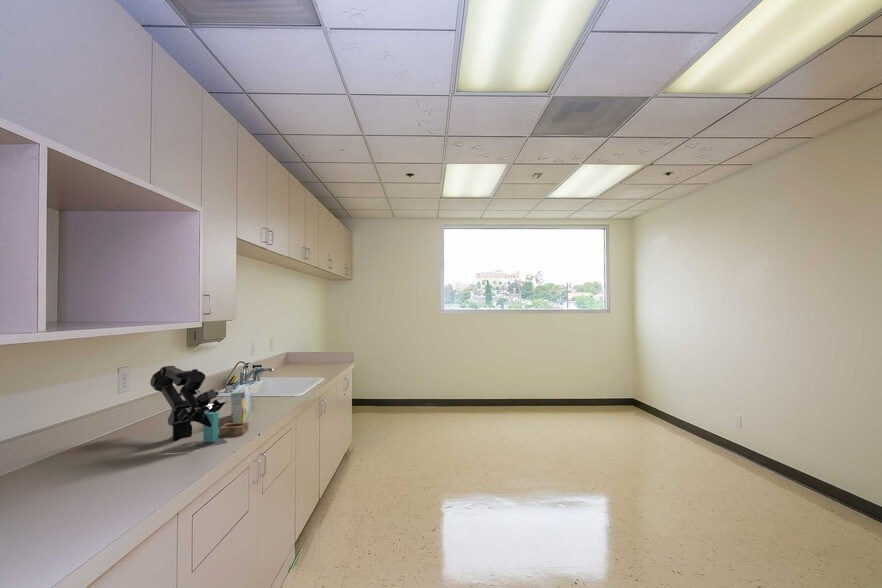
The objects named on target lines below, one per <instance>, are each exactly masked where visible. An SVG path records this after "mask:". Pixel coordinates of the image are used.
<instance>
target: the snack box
mask: <svg viewBox="0 0 882 588" xmlns="http://www.w3.org/2000/svg"><path fill="white" fill-rule="evenodd" d="M230 403H231V404H230V406H231V409H230V411H231V412H230V413H231V414H230V415H231V416H230V419H231V422H230V423H242V422H245V421H244V420H246V419H247V418H246V417H248V416H249V415H250V413H251V412H252V411H251V384H249V383H248V384H247V383H246V384H240V385H238V386H237V387H236V388H235V389H234V390H233V391H232V392H231V393H230Z"/></svg>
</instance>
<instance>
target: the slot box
mask: <svg viewBox="0 0 882 588" xmlns="http://www.w3.org/2000/svg"><path fill="white" fill-rule="evenodd" d="M249 423H250V422H249V421H243V422H241V423H231V422H228V423H227V422H226V423H224V424H223V425H221V426H220V427H218V437H235V436H243V435H245V434H246V433H247V432H248V431H249Z"/></svg>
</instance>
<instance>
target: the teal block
mask: <svg viewBox="0 0 882 588" xmlns="http://www.w3.org/2000/svg"><path fill="white" fill-rule="evenodd" d="M205 415H206V417H207V418H208V420H209V421H210V423H211V427H208V426H205V425H203V440H202V441H210V442H214V441H216V440H218V437H219V412H217V411H216V412H207V413H206V412H205Z"/></svg>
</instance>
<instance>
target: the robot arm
mask: <svg viewBox="0 0 882 588" xmlns="http://www.w3.org/2000/svg"><path fill="white" fill-rule="evenodd" d="M205 379H206V374H205V373H204V372H202V371H199V369H197V368H195V369H192V370H183V369H180V368H178V367H176V366H174V365H167V366H163V367H162V366H161V367H160V370H157V372H155V373H154V374H152V376H151V378H150V382H149V383H150V384H149V385H150V386H151V387H152V389H153V390H155V391H157V392H160V393H162V396H164V399H165V400H166V401H167V403H168V404H169V406H170V408H171V412H170V414H169V416H168V419H167V425H168V426H171V429H172V430H171V431H172V432H171V439H172V441H173V442H174V441H179V440H181V439H187V438H192V435H193V425H192V422H193V423H194V422H196V423H199V424H201V425H203V426H204V425H205V426H208V427H211V423H210V421H209V420H208V418H207V417H206V415H205V413H207V412H216V413H217V412H219V411H220V410H221V409H222V408H223V406H224V405H226V403H227V402H226V400H225V398H223V397H222V398H217V396H218V395H219V393H220V392H219V390H218V389H217V388H212V389H209V390H208V391H205V392H201V391H200V388H201V387H202V386H203V383H204V381H205ZM175 386H176V387H181V388H180V389H179V392H178V390H177V389H176V387H175ZM182 397H183V398H184V399H183V398H182ZM216 398H217V399H216ZM213 399H214V400H213ZM212 400H213V402H212ZM210 403H211V404H210Z"/></svg>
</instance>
